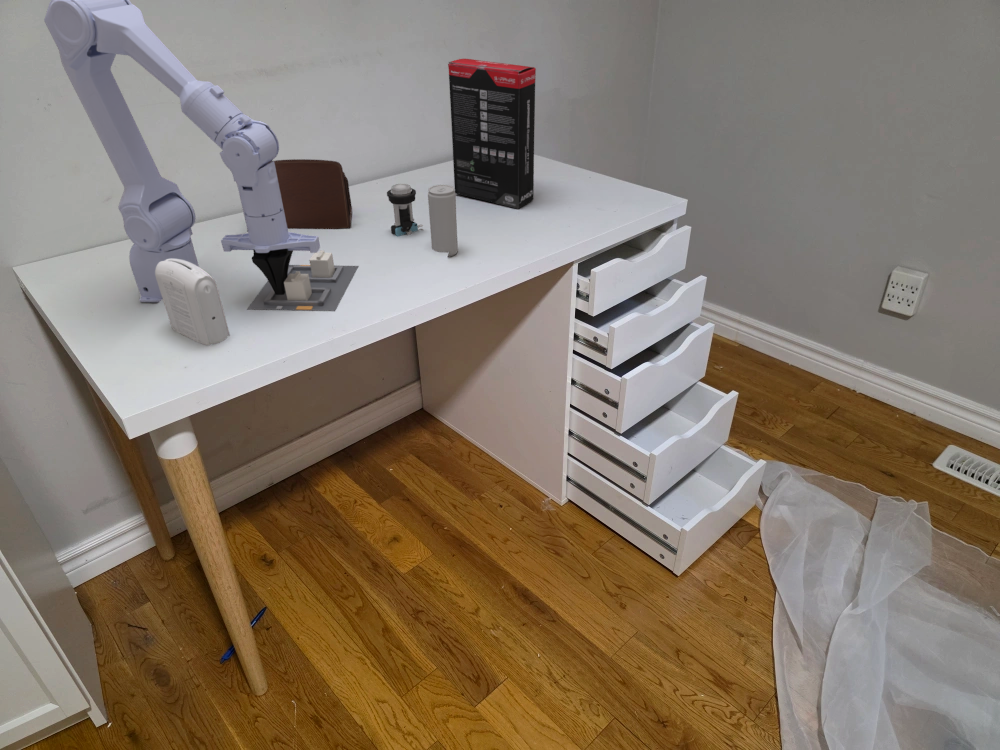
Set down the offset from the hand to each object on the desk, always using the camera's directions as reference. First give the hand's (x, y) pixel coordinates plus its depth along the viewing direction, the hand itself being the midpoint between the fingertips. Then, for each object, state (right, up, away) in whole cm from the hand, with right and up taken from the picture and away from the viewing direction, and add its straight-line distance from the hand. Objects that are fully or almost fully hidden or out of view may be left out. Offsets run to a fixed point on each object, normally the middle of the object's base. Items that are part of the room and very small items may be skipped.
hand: (281, 292), depth 110 cm
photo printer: (-10, -8, -7) cm, 14 cm away
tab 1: (+3, -1, 0) cm, 3 cm away
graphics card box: (+33, +25, +39) cm, 57 cm away
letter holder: (-5, +17, +30) cm, 35 cm away
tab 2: (+5, +4, +7) cm, 9 cm away
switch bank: (+3, 0, +4) cm, 5 cm away
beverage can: (+25, +9, +17) cm, 31 cm away
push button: (+17, +13, +23) cm, 32 cm away
